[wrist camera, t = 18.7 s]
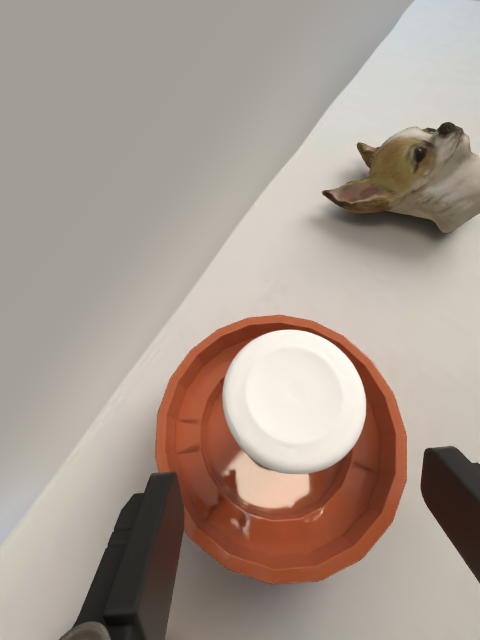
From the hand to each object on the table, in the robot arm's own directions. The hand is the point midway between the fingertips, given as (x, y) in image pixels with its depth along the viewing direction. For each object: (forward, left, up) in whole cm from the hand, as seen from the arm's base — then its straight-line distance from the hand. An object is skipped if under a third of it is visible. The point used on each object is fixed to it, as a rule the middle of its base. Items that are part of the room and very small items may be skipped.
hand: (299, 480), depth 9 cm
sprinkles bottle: (-1, -2, -12) cm, 12 cm away
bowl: (-2, -2, -12) cm, 13 cm away
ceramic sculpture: (-28, -10, -13) cm, 32 cm away
